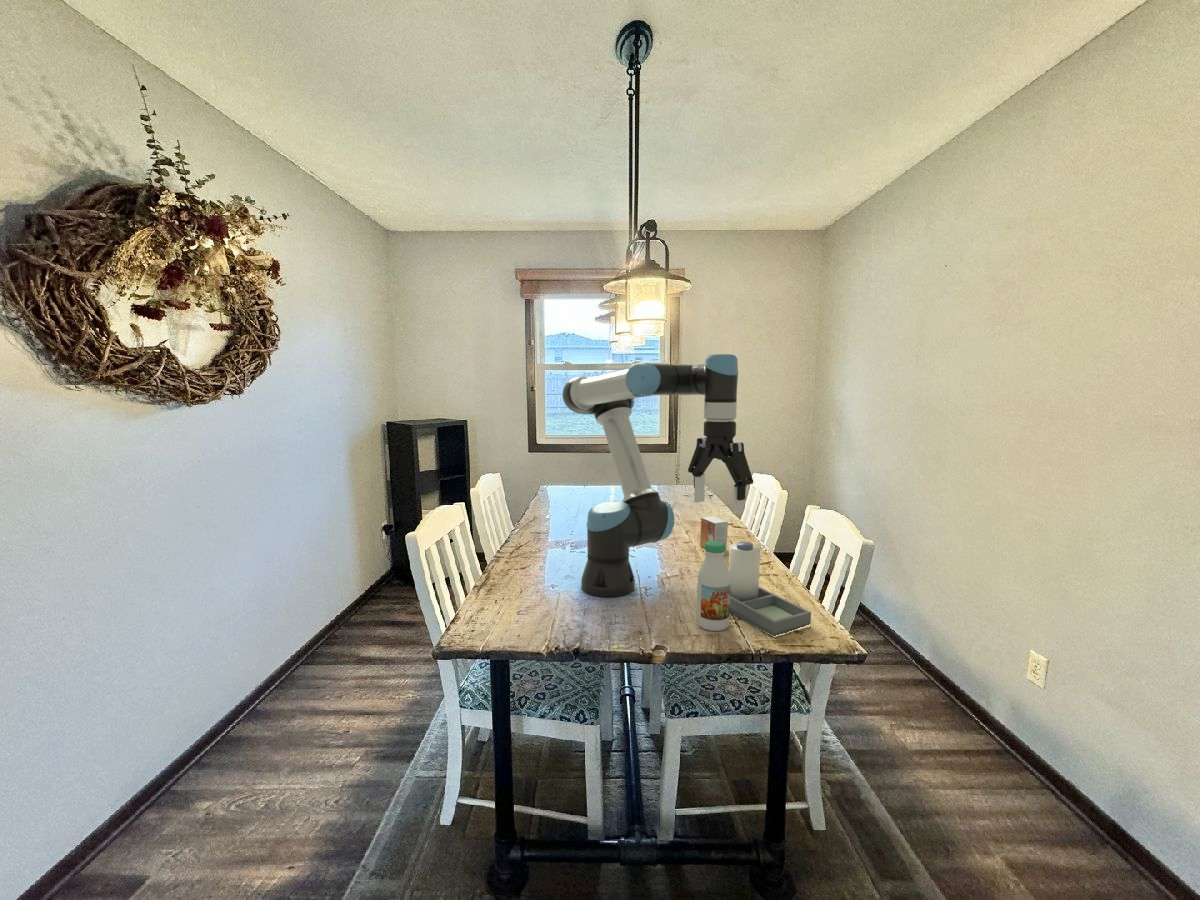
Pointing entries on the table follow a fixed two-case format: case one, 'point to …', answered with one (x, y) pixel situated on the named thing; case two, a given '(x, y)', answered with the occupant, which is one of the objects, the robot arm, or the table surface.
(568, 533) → the table surface
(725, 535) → the small box
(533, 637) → the table surface
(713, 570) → the milk bottle
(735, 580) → the twin bottle
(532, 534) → the table surface
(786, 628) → the tray
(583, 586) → the robot arm
